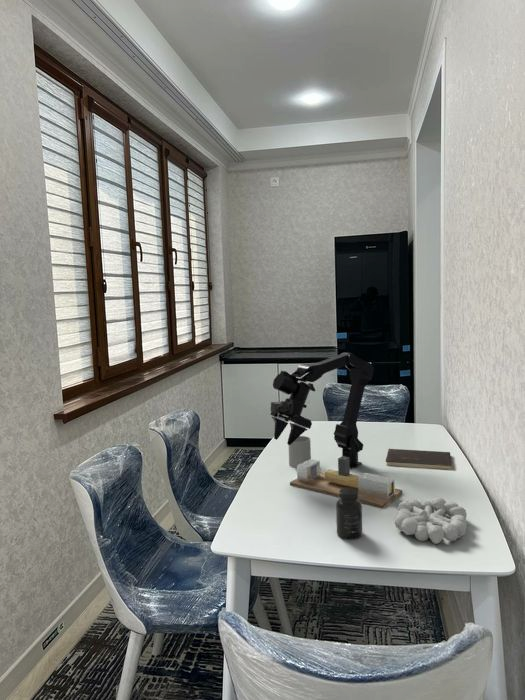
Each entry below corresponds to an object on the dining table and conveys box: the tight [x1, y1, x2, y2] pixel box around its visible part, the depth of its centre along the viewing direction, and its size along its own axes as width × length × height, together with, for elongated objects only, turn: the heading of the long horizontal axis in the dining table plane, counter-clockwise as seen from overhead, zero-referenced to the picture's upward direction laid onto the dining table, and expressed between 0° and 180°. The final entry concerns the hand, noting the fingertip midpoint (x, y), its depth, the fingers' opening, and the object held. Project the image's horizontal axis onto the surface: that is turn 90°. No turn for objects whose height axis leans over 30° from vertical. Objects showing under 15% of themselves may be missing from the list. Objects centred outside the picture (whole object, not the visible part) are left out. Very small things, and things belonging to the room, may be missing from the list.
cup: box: [287, 435, 312, 469], centre depth 191 cm, size 8×8×10 cm
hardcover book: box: [385, 448, 453, 470], centre depth 191 cm, size 16×23×2 cm
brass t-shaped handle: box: [324, 455, 392, 494], centre depth 162 cm, size 3×22×8 cm, turn 51°
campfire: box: [394, 496, 468, 545], centre depth 137 cm, size 22×21×6 cm
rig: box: [296, 458, 396, 500], centre depth 166 cm, size 8×32×5 cm, turn 51°
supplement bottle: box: [335, 488, 363, 541], centre depth 134 cm, size 7×7×12 cm
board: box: [289, 471, 403, 509], centre depth 166 cm, size 14×34×1 cm, turn 51°
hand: (281, 441), depth 172 cm, fingers open, 9 cm apart
